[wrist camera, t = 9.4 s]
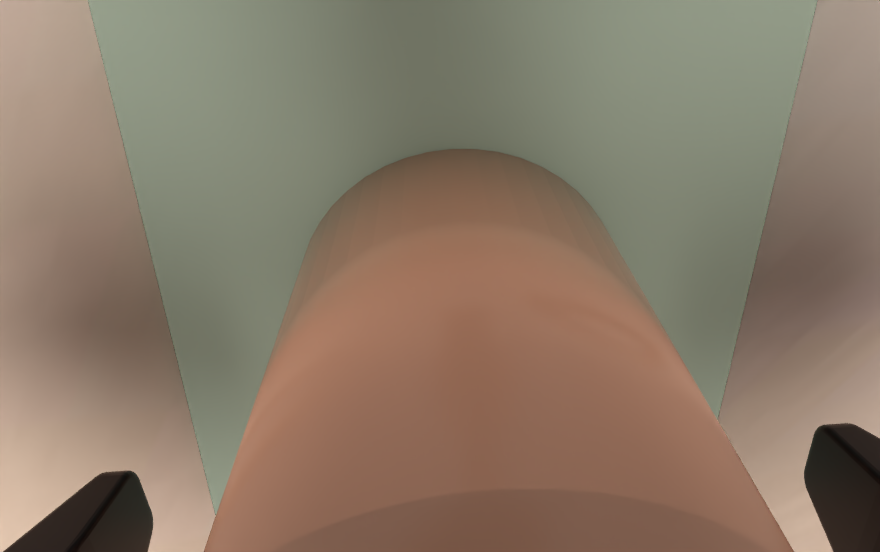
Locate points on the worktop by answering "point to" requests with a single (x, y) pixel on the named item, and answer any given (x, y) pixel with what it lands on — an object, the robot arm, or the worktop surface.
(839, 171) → the worktop surface
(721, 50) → the sage mat
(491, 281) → the peach round cylinder
